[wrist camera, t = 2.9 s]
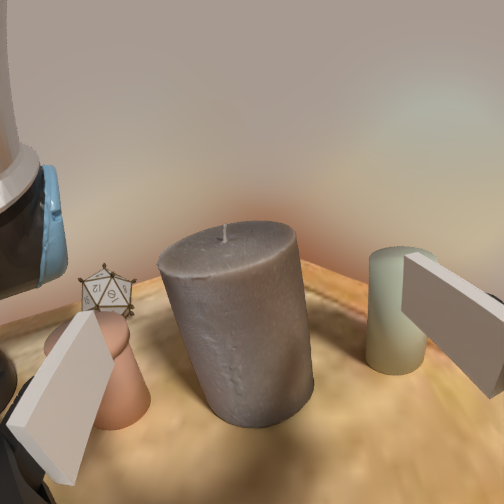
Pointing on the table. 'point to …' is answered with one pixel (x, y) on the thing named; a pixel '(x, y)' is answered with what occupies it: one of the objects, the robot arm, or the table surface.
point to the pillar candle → (243, 319)
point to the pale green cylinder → (392, 315)
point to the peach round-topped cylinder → (115, 375)
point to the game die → (107, 293)
